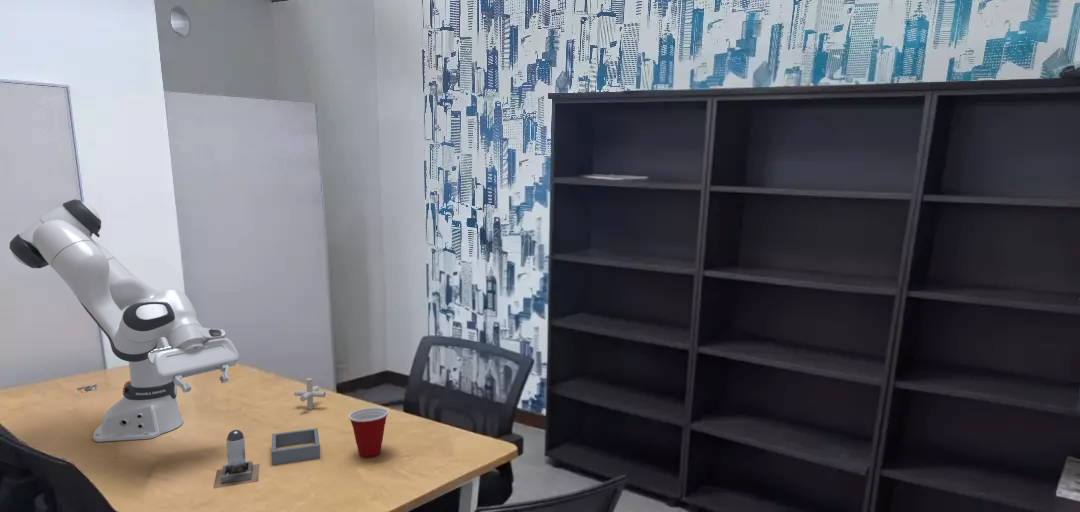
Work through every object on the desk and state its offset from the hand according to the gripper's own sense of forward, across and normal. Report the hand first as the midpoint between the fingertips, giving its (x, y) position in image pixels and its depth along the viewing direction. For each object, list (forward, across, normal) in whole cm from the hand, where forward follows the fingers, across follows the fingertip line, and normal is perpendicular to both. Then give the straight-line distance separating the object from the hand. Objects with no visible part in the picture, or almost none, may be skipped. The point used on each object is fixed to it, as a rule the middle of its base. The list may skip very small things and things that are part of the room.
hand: (207, 386), depth 161 cm
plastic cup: (+33, +32, -1) cm, 46 cm away
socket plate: (+24, +1, +7) cm, 25 cm away
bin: (+24, +18, +8) cm, 30 cm away
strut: (+24, +1, +6) cm, 24 cm away
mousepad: (-50, -6, +82) cm, 96 cm away
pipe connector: (+4, +39, +28) cm, 48 cm away
